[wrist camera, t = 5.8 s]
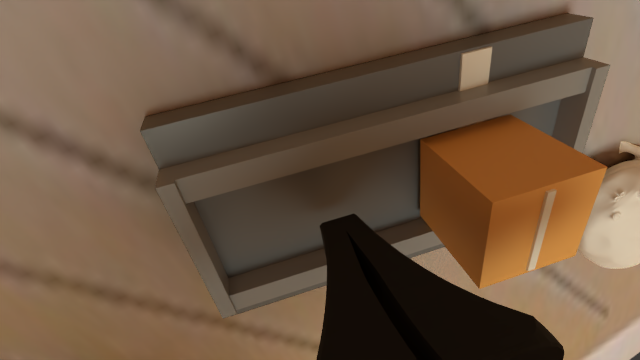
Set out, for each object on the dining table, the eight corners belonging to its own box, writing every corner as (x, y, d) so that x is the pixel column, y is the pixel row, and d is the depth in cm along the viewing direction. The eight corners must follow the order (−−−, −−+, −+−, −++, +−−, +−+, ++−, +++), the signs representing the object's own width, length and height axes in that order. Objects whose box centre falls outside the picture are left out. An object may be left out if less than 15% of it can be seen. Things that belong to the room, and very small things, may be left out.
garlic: (524, 208, 21) (579, 252, 18) (624, 120, 19) (703, 153, 16) (572, 255, 25) (623, 298, 22) (657, 187, 23) (725, 223, 20)
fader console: (230, 296, 18) (233, 338, 16) (144, 116, 12) (134, 147, 11) (525, 202, 20) (559, 229, 18) (567, 13, 15) (623, 22, 13)
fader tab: (419, 215, 16) (481, 291, 13) (420, 139, 14) (494, 204, 11) (497, 191, 17) (577, 257, 13) (510, 114, 15) (610, 168, 11)
